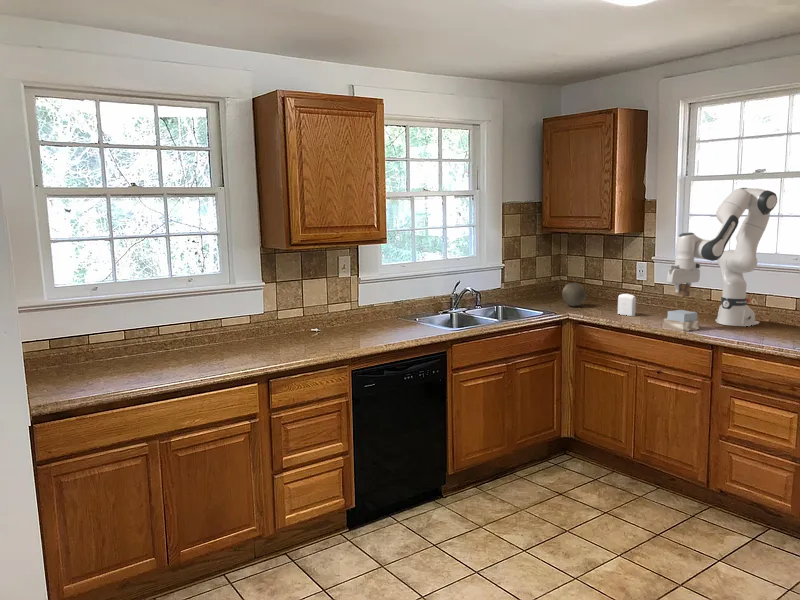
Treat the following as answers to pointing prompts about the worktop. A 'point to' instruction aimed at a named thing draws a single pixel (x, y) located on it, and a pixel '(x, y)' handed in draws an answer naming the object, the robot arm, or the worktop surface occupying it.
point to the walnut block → (683, 290)
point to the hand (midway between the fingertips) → (682, 291)
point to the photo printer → (626, 304)
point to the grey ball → (574, 294)
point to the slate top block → (682, 315)
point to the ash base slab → (681, 325)
